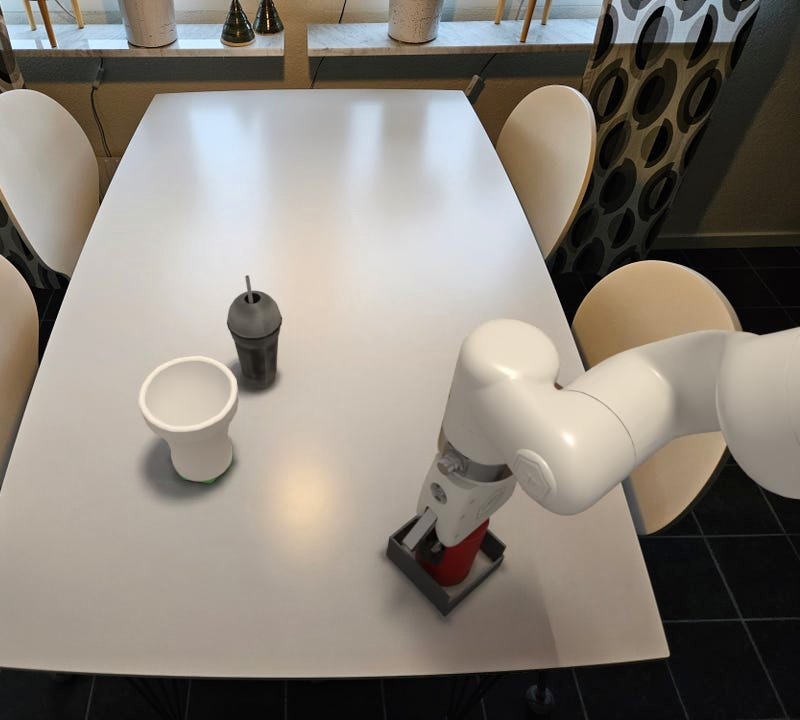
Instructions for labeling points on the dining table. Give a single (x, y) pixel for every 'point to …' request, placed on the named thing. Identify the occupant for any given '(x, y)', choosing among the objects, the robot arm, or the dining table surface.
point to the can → (455, 559)
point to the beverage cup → (255, 335)
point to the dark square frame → (425, 582)
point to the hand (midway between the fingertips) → (450, 535)
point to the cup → (192, 414)
